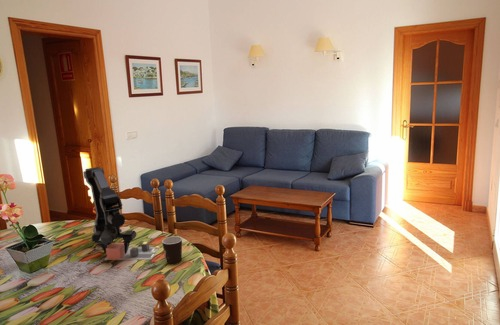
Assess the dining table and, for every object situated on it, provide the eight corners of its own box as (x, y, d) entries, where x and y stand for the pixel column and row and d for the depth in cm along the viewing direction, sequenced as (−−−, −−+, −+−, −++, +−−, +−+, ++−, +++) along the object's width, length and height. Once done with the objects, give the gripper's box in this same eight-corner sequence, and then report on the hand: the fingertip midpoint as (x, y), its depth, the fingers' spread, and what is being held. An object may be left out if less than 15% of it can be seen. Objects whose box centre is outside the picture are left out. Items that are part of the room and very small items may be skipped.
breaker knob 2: (141, 250, 176) (141, 244, 175) (144, 247, 179) (143, 241, 178) (147, 250, 176) (146, 244, 175) (149, 247, 179) (148, 241, 178)
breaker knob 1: (130, 256, 170) (129, 250, 170) (133, 253, 173) (132, 247, 173) (136, 256, 170) (135, 250, 170) (138, 253, 173) (137, 247, 173)
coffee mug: (181, 265, 163) (179, 243, 161) (162, 266, 163) (159, 244, 161) (186, 253, 174) (185, 233, 172) (168, 254, 175) (166, 233, 173)
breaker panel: (104, 262, 170) (103, 258, 170) (116, 249, 183) (116, 246, 182) (151, 261, 168) (151, 258, 167) (160, 249, 180) (160, 245, 180)
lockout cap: (107, 259, 170) (105, 248, 169) (113, 253, 176) (111, 242, 175) (120, 259, 169) (119, 248, 168) (126, 253, 175) (124, 242, 174)
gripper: (83, 228, 162) (88, 261, 166) (124, 227, 161) (129, 261, 164) (95, 219, 173) (100, 250, 176) (134, 218, 171) (138, 250, 175)
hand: (116, 253), depth 172 cm, fingers open, 9 cm apart
